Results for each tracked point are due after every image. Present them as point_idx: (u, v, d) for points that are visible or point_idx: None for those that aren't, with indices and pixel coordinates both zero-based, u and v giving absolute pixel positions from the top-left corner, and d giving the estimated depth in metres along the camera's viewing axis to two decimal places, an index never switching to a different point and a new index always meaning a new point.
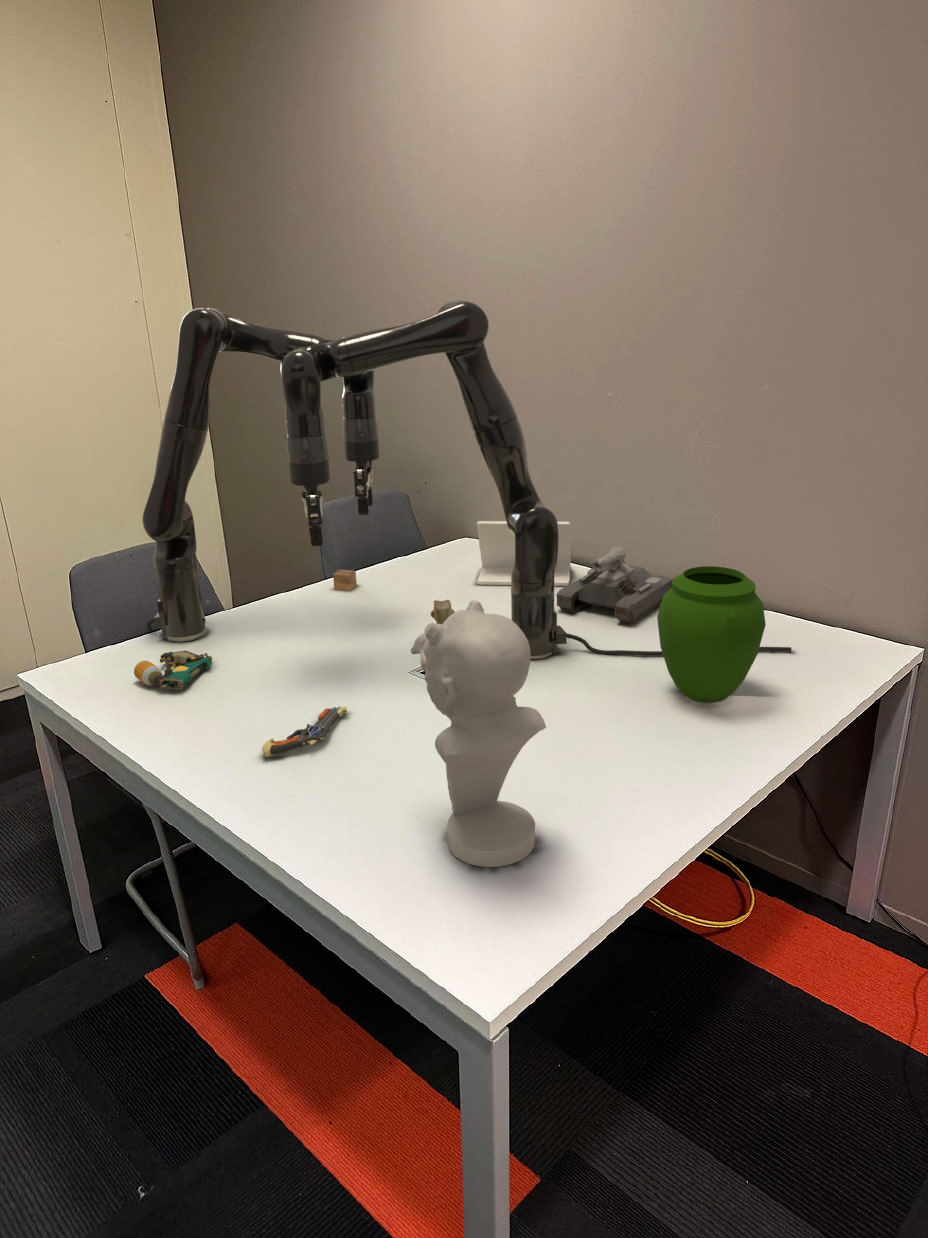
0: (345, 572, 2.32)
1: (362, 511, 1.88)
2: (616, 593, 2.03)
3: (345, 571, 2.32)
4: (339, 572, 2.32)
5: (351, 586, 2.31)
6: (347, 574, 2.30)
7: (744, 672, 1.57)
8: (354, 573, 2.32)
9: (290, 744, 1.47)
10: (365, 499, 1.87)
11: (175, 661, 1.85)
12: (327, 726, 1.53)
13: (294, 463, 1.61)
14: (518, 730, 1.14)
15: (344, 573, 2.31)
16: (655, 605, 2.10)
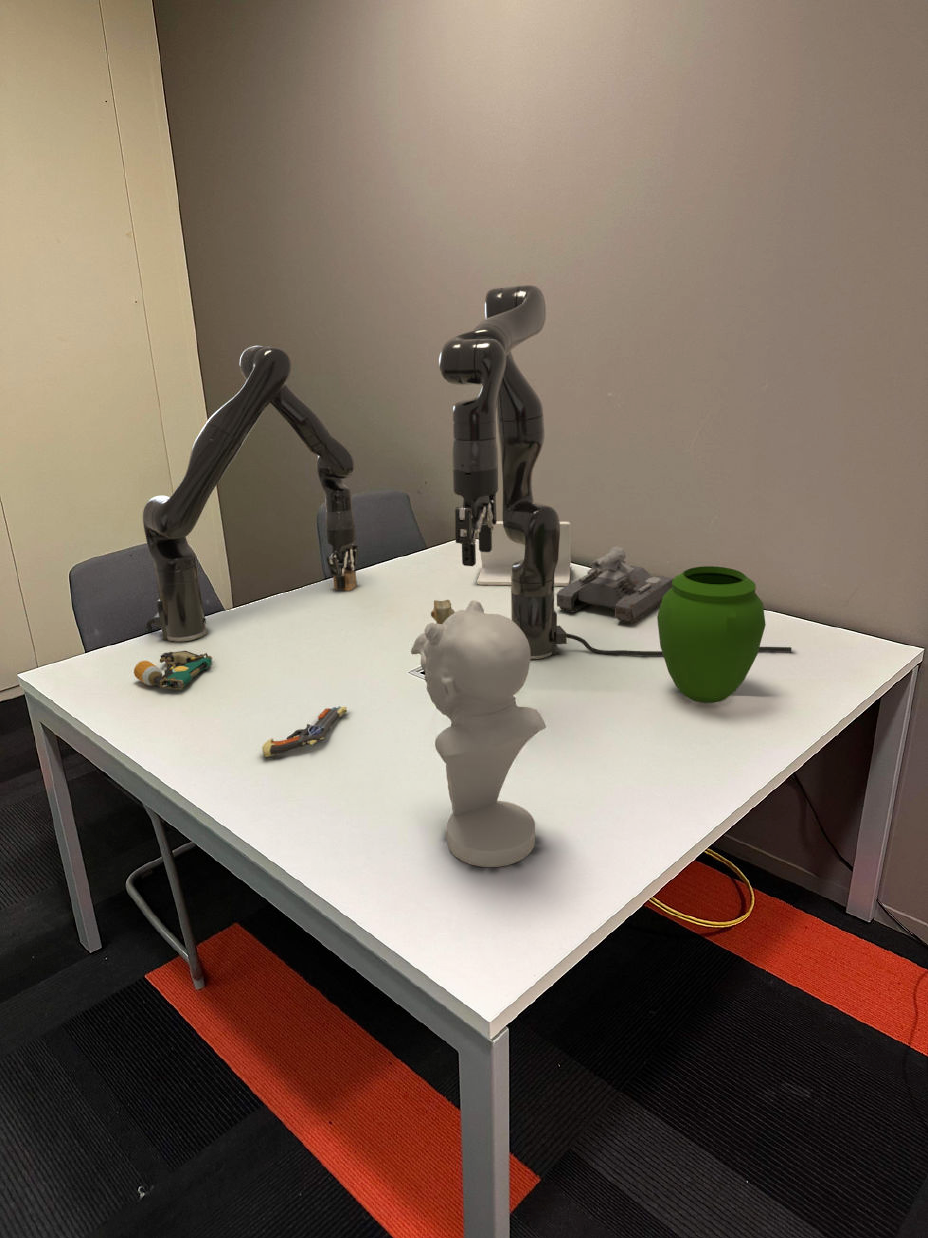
0: (345, 572, 2.32)
1: (338, 586, 2.30)
2: (616, 593, 2.03)
3: (345, 571, 2.32)
4: None
5: (351, 586, 2.31)
6: (347, 574, 2.30)
7: (744, 672, 1.57)
8: (354, 573, 2.32)
9: (290, 744, 1.47)
10: (341, 577, 2.29)
11: (175, 661, 1.85)
12: (327, 726, 1.53)
13: None
14: (518, 730, 1.14)
15: (344, 573, 2.31)
16: (655, 605, 2.10)
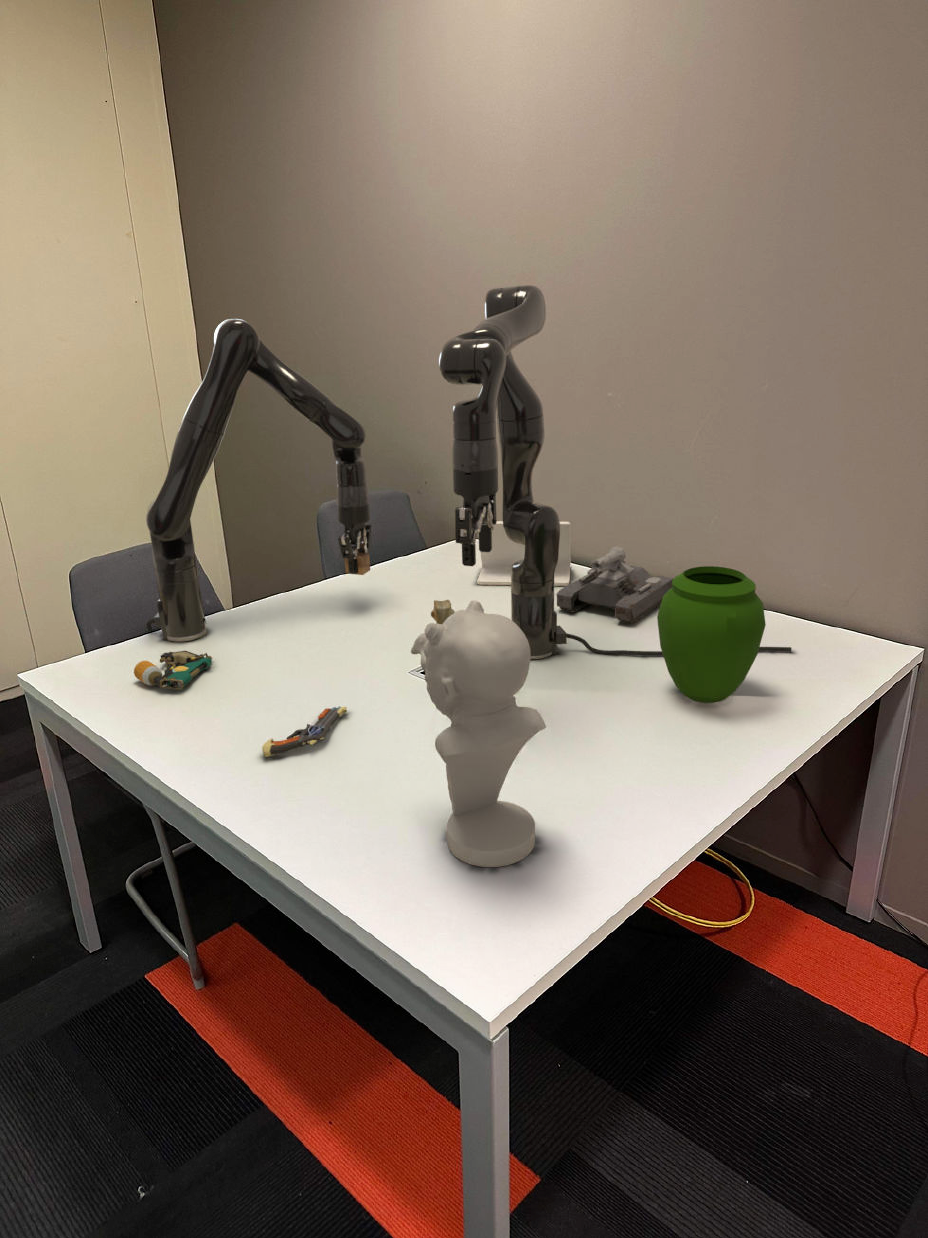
0: (357, 554, 2.10)
1: (351, 570, 2.08)
2: (616, 593, 2.03)
3: (358, 554, 2.11)
4: None
5: (364, 570, 2.10)
6: (360, 556, 2.08)
7: (744, 672, 1.57)
8: (368, 556, 2.11)
9: (290, 744, 1.47)
10: (353, 560, 2.07)
11: (175, 661, 1.85)
12: (327, 726, 1.53)
13: None
14: (518, 730, 1.14)
15: (357, 555, 2.09)
16: (655, 605, 2.10)
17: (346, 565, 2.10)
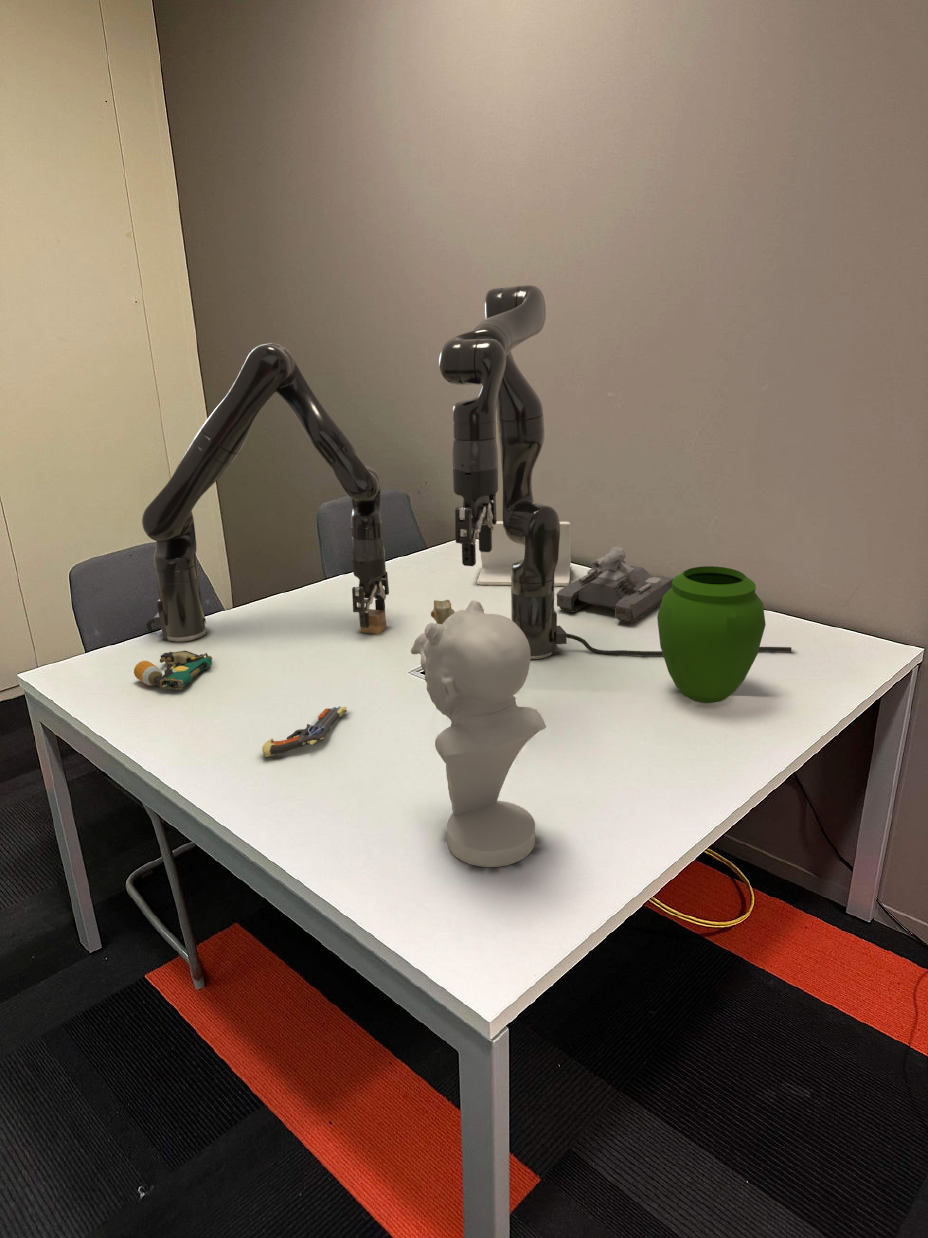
0: (373, 612, 2.02)
1: (362, 624, 1.97)
2: (616, 593, 2.03)
3: (374, 611, 2.02)
4: None
5: (380, 628, 2.01)
6: (376, 615, 2.00)
7: (744, 672, 1.57)
8: (383, 613, 2.02)
9: (290, 744, 1.47)
10: (365, 614, 1.96)
11: (175, 661, 1.85)
12: (327, 726, 1.53)
13: None
14: (518, 730, 1.14)
15: (372, 614, 2.00)
16: (655, 605, 2.10)
17: None
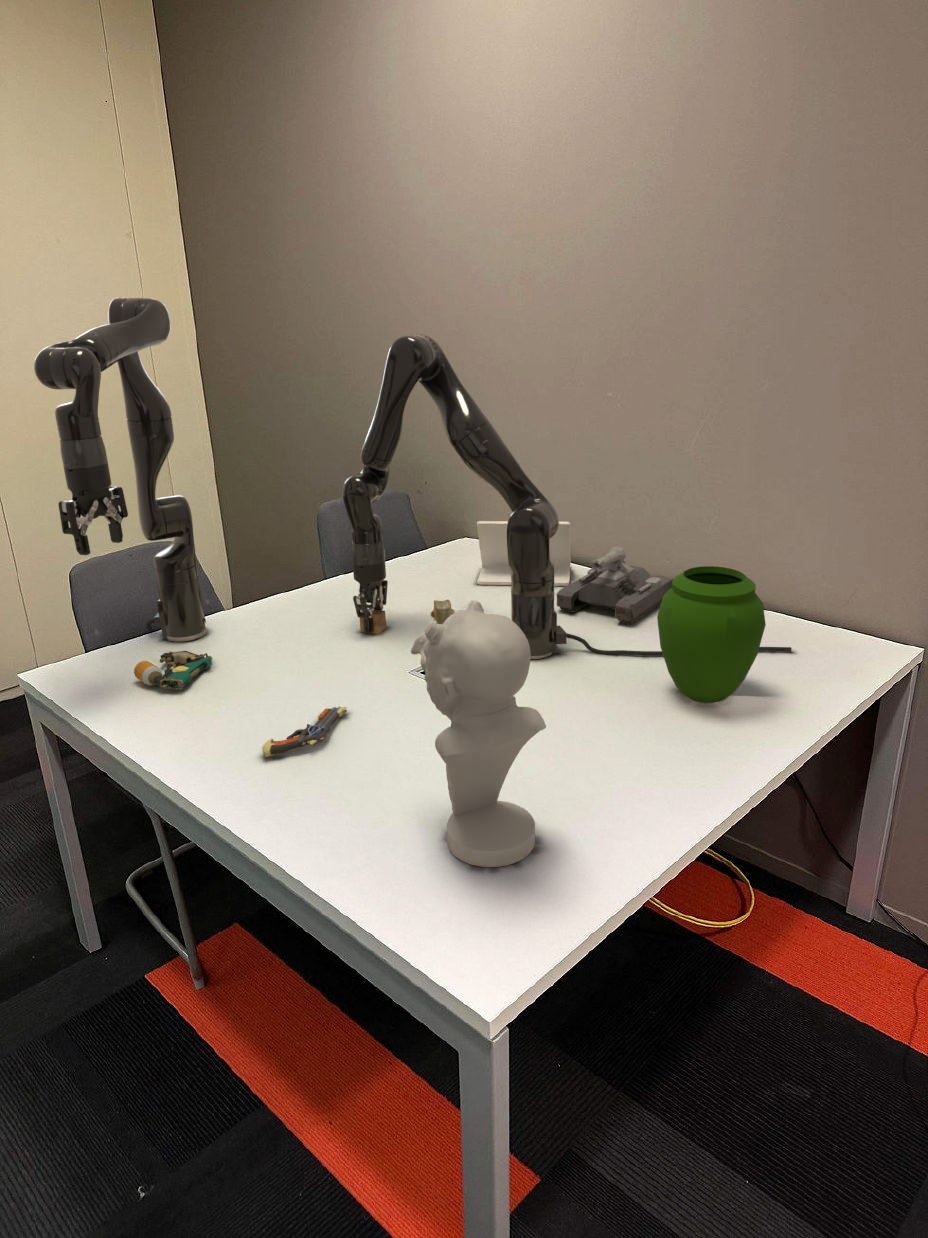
0: (373, 612, 2.02)
1: (79, 551, 1.56)
2: (616, 593, 2.03)
3: (374, 611, 2.02)
4: None
5: (380, 628, 2.01)
6: (376, 615, 2.00)
7: (744, 672, 1.57)
8: (383, 613, 2.02)
9: (290, 744, 1.47)
10: (81, 537, 1.55)
11: (175, 661, 1.85)
12: (327, 726, 1.53)
13: None
14: (518, 730, 1.14)
15: None
16: (655, 605, 2.10)
17: (361, 623, 2.01)
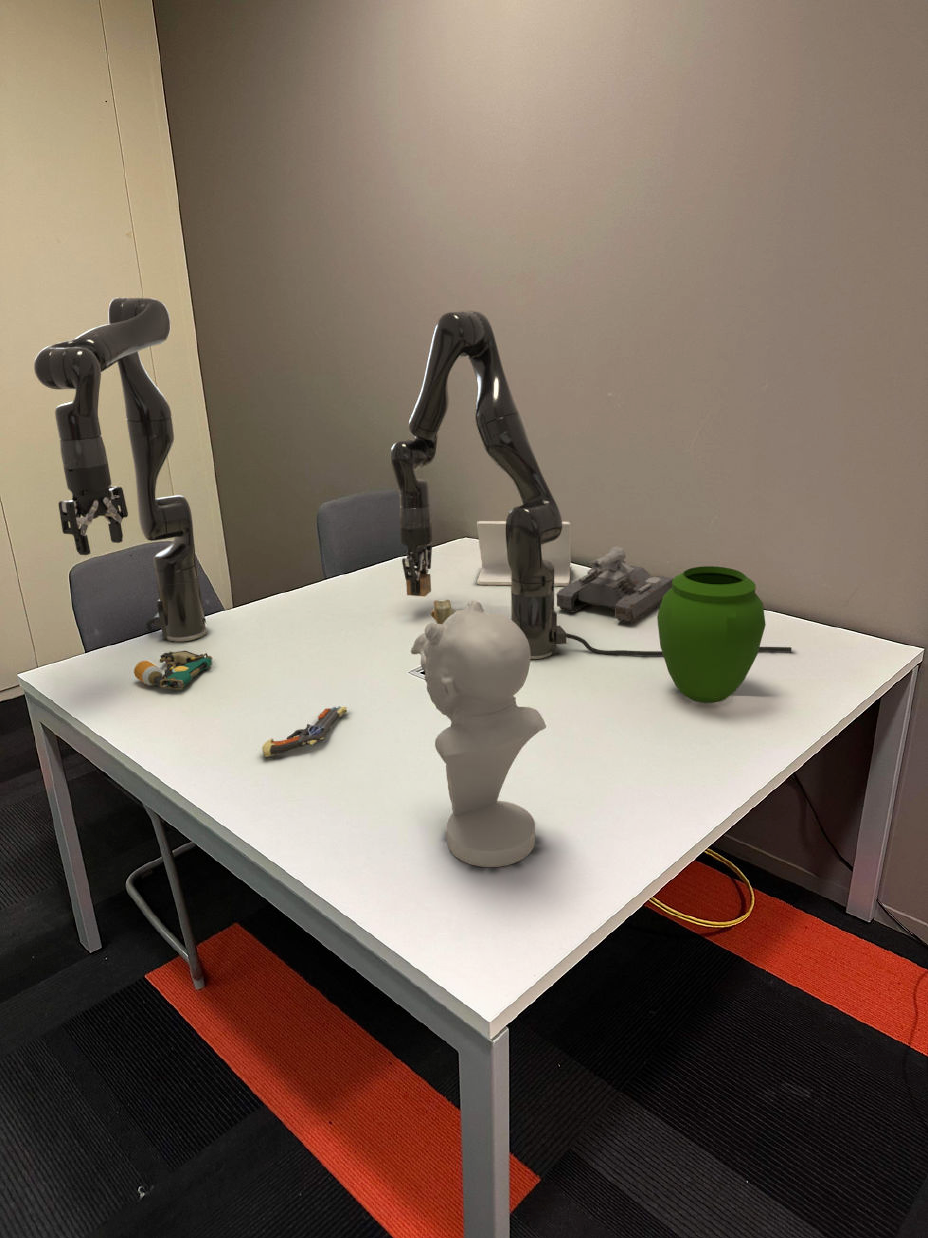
0: None
1: (79, 551, 1.56)
2: (616, 593, 2.03)
3: None
4: None
5: (426, 591, 2.07)
6: (422, 578, 2.06)
7: (744, 672, 1.57)
8: (429, 577, 2.08)
9: (290, 744, 1.47)
10: (81, 537, 1.55)
11: (175, 661, 1.85)
12: (327, 726, 1.53)
13: None
14: (518, 730, 1.14)
15: None
16: (655, 605, 2.10)
17: (407, 587, 2.07)
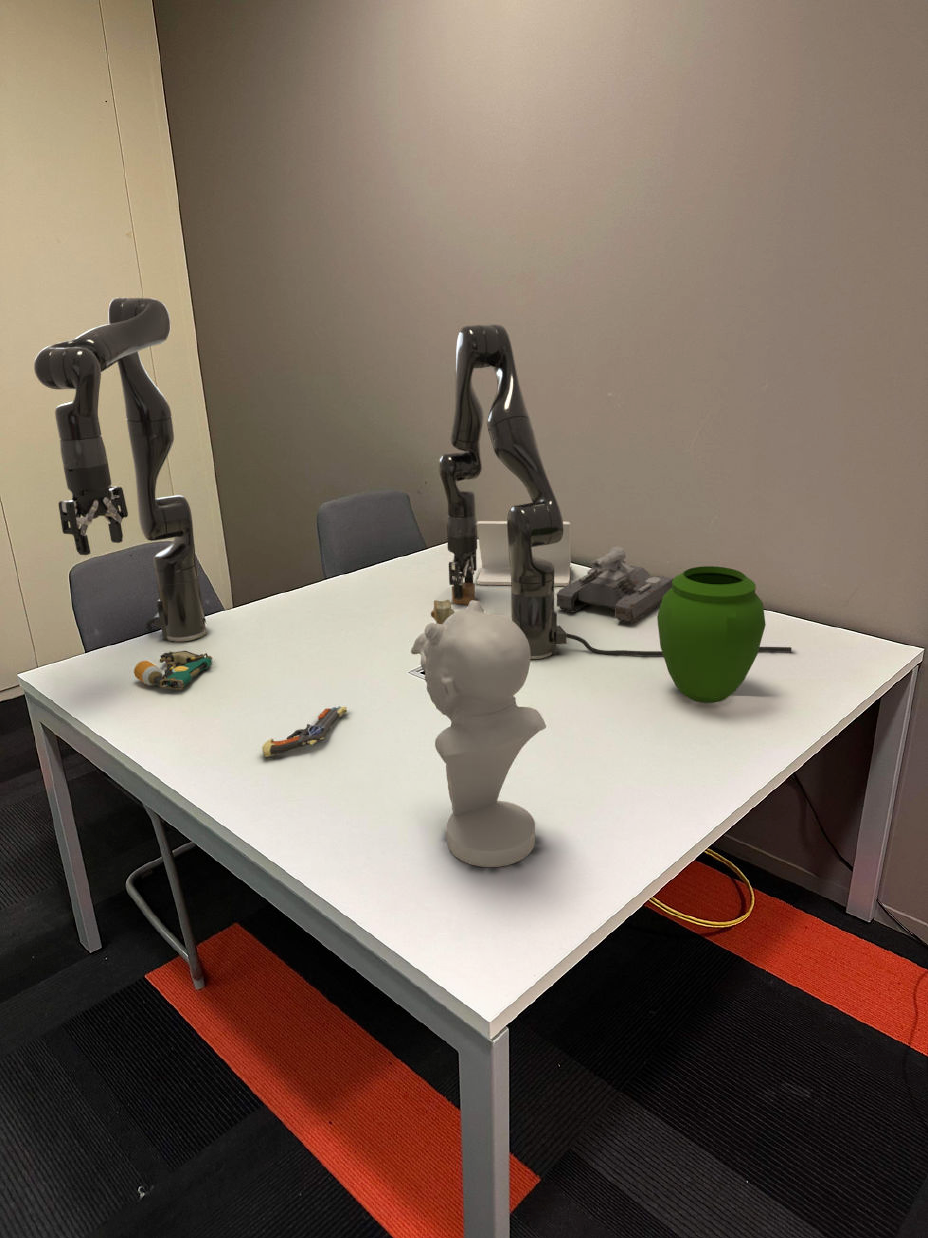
0: (464, 584, 2.19)
1: (79, 551, 1.56)
2: (616, 593, 2.03)
3: (464, 584, 2.19)
4: None
5: (471, 599, 2.18)
6: (467, 587, 2.17)
7: (744, 672, 1.57)
8: (473, 586, 2.19)
9: (290, 744, 1.47)
10: (81, 537, 1.55)
11: (175, 661, 1.85)
12: (327, 726, 1.53)
13: None
14: (518, 730, 1.14)
15: (464, 586, 2.18)
16: (655, 605, 2.10)
17: (453, 595, 2.18)
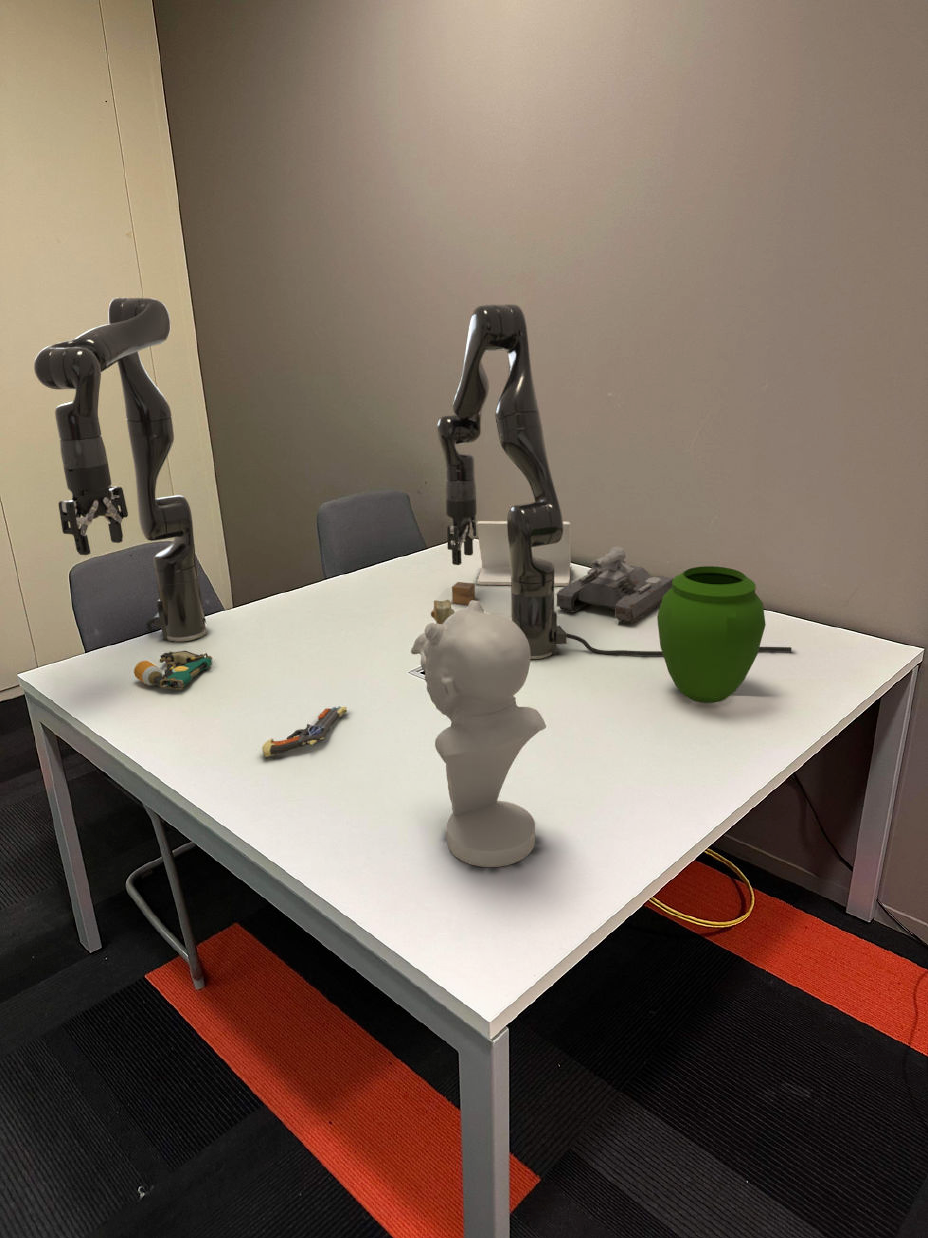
0: (464, 584, 2.19)
1: (79, 551, 1.56)
2: (616, 593, 2.03)
3: (464, 584, 2.19)
4: (458, 585, 2.19)
5: (471, 599, 2.18)
6: (467, 587, 2.17)
7: (744, 672, 1.57)
8: (473, 586, 2.19)
9: (290, 744, 1.47)
10: (81, 537, 1.55)
11: (175, 661, 1.85)
12: (327, 726, 1.53)
13: None
14: (518, 730, 1.14)
15: (464, 586, 2.18)
16: (655, 605, 2.10)
17: (453, 595, 2.18)
